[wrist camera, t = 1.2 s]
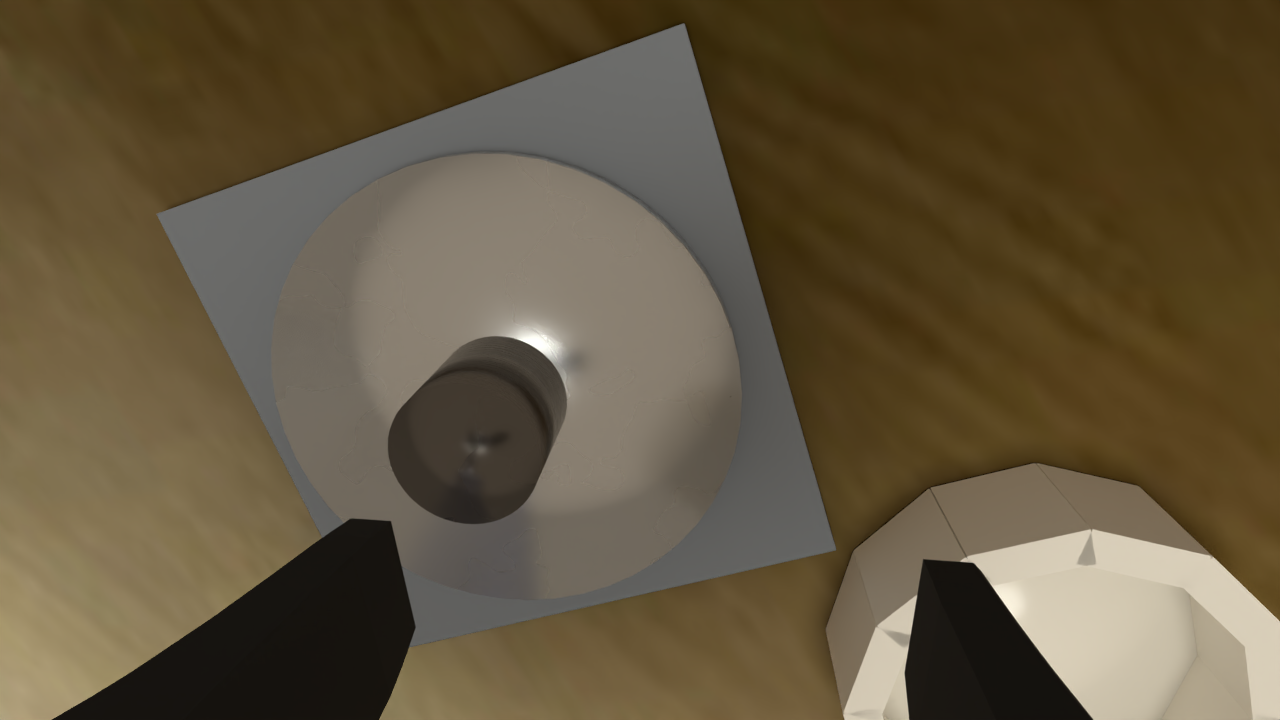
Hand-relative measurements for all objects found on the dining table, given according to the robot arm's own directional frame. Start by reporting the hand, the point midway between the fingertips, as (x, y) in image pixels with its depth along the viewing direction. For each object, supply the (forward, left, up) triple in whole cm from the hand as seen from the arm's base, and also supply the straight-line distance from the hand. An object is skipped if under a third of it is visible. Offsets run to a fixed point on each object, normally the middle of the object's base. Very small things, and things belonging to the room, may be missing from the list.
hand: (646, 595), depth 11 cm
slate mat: (-5, 0, -12) cm, 13 cm away
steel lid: (-5, 0, -11) cm, 12 cm away
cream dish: (+7, -12, -12) cm, 18 cm away
